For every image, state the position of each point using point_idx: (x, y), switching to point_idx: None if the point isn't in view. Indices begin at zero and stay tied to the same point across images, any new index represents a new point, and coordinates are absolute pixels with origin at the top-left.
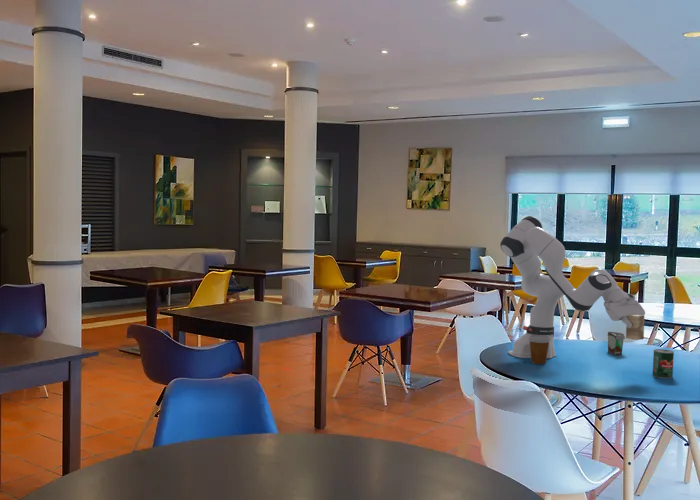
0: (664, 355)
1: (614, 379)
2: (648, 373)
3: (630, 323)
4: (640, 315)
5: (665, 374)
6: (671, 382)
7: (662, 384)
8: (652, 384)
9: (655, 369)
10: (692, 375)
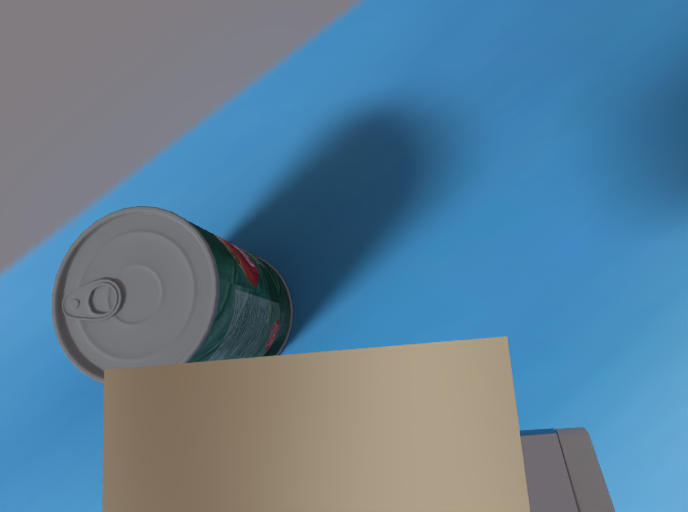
0: (208, 239)
1: (676, 390)
2: None
3: (602, 474)
4: (211, 439)
5: (260, 259)
6: (335, 168)
7: (444, 147)
8: (514, 168)
9: (273, 322)
10: (35, 260)
